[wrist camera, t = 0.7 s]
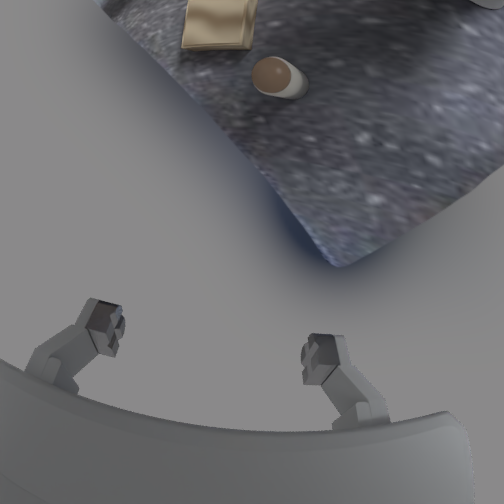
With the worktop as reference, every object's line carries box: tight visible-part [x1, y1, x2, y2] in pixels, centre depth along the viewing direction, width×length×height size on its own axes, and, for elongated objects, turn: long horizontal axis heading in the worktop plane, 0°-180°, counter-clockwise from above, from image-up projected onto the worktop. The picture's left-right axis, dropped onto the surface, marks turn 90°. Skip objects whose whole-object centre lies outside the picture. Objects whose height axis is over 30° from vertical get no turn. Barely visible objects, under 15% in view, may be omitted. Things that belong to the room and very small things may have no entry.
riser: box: [181, 0, 258, 51], centre depth 33 cm, size 11×11×4 cm
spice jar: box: [252, 57, 309, 99], centre depth 32 cm, size 5×5×12 cm
